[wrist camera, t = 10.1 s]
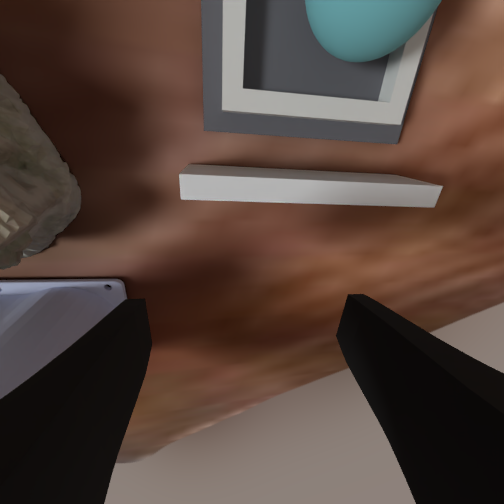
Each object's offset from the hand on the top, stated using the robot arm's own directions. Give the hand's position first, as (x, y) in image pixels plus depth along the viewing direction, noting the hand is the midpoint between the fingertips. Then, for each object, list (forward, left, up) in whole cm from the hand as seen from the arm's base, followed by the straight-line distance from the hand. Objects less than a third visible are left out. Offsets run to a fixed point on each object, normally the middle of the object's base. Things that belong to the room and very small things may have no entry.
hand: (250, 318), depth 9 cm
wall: (+4, +4, -9) cm, 11 cm away
